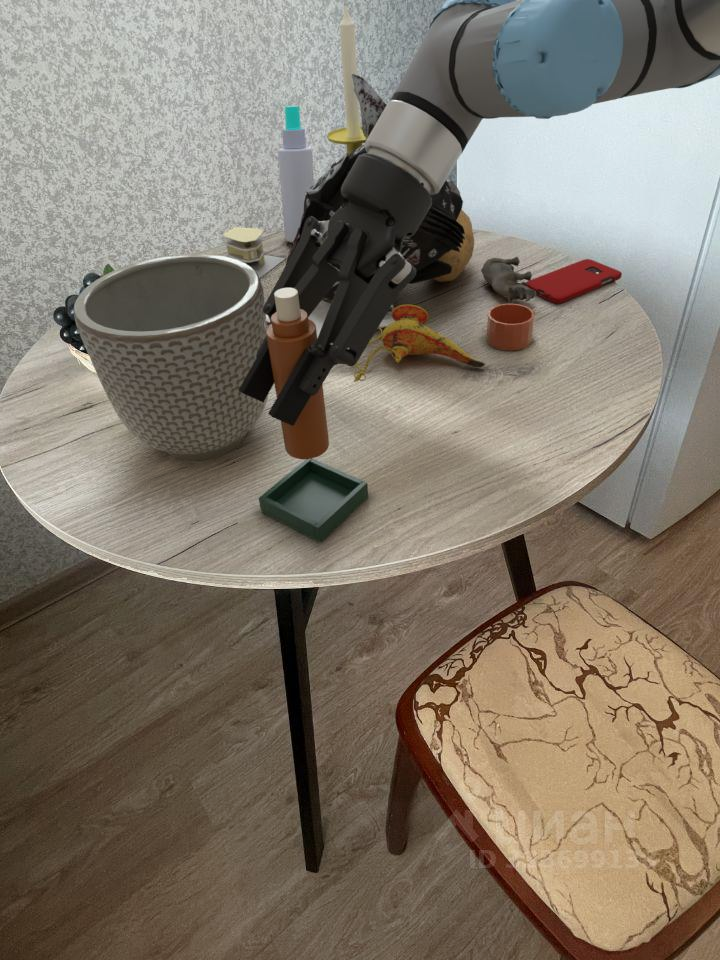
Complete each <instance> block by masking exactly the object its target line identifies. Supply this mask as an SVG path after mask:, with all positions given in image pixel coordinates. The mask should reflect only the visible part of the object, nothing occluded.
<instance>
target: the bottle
mask: <svg viewBox="0 0 720 960" xmlns="http://www.w3.org/2000/svg"><path fill="white" fill-rule="evenodd" d="M274 297H275V303H276V310H277V312H275V313H274V314H273V315H272V316H271V323H272V324H270V323H269V325H267V330H266V335H267V341H268V347H269V353H270V359H271V365H272V371H273V377H274V389H275V395H276V398H277V397H278V395H279V394H280V392H281V390H282V388H283V387H284V385H285V383H286V381H287V380H288V378H289V376H290V374H291V373H292V371H293V369H294V367H295V366H296V364H297V362H298V360H299V359H300V357H301V355H302V353H303V352H304V350H305V349H306V350H307V351H309V350H308V344H309V345H314V346H315V344H316V341H317V331H316V325H315V323H314V322H313V321H311V320H309V319H308V314H307V312H306V311H304V310H302V309H300V306H299V298H298V291H297V290H296V289H294V288H282V289H279V290H277V291H276V292H275V293H274ZM309 352H310V351H309ZM314 355H315V354H314ZM323 386H324V385H323V384H322V386H321V387H320V389H319V391H318V392H317V393H316V394H315V395H314V396H313V395H311V397H310V398H309V400H308V402H307V403H306V405H305V407H304V409H303V410H302V412H301V414H300V415H299V417H298V419H297V421H296V422H295V424H294V426H292V425H290V424H287V423H285V422H282V421H280V425H281V426H280V427H281V431H282V436H283V437H282V438H283V443H284V450H285V452H286V453H287V454H288V455H289V456H290V457H292V458H294V459H297V460H305V459H315V458H318V457H320V456H322V455H324V453H326V452H327V450H328V449H329V447H330V439H329V430H328V419H327V412H326V411H327V410H326V404H325V403H326V402H325V394H324V387H323Z"/></svg>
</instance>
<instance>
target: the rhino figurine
mask: <svg viewBox="0 0 720 960" xmlns="http://www.w3.org/2000/svg"><path fill="white" fill-rule="evenodd" d="M519 265H520V259H519V256H514V257H513V258H506V259H505V258H504V259H503V258H502V257H501V258H500V257H491V258H489V259H486V261H484V263H483V266H482V268H481V269H480V272H481V274H482V276H483V278H484V280H485V281H486V282H487V283H488V284H489V285H491V287H492V289H493V290H494V291H495V292H496V293H497V294H499V295H500V296H502V297H505V298H507V304H508V303H510V304H513V300H520V301H525V302H529V301H531V300H534V299H535V297H536V296H537V295H536V292H535V291H534V290H533V289H530V288H528V287H527V283H525V282H526V281H530V280H532V276H533V274H532V272H531V270H528V271H526V272H523V273H519V272H516V271H515V267H518V266H519ZM514 266H515V267H514ZM523 280H525V281H523ZM518 281H522V282H518Z"/></svg>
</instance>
